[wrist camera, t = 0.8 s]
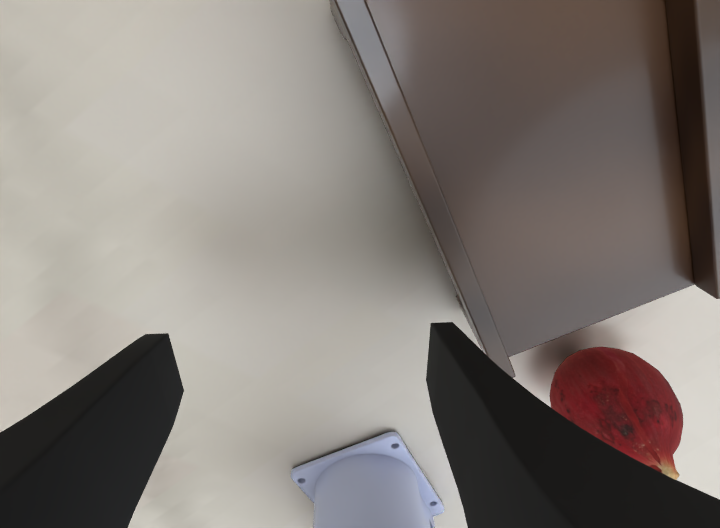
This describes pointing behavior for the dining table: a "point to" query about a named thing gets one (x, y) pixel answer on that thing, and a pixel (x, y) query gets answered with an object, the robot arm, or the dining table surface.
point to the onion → (621, 404)
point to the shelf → (553, 150)
